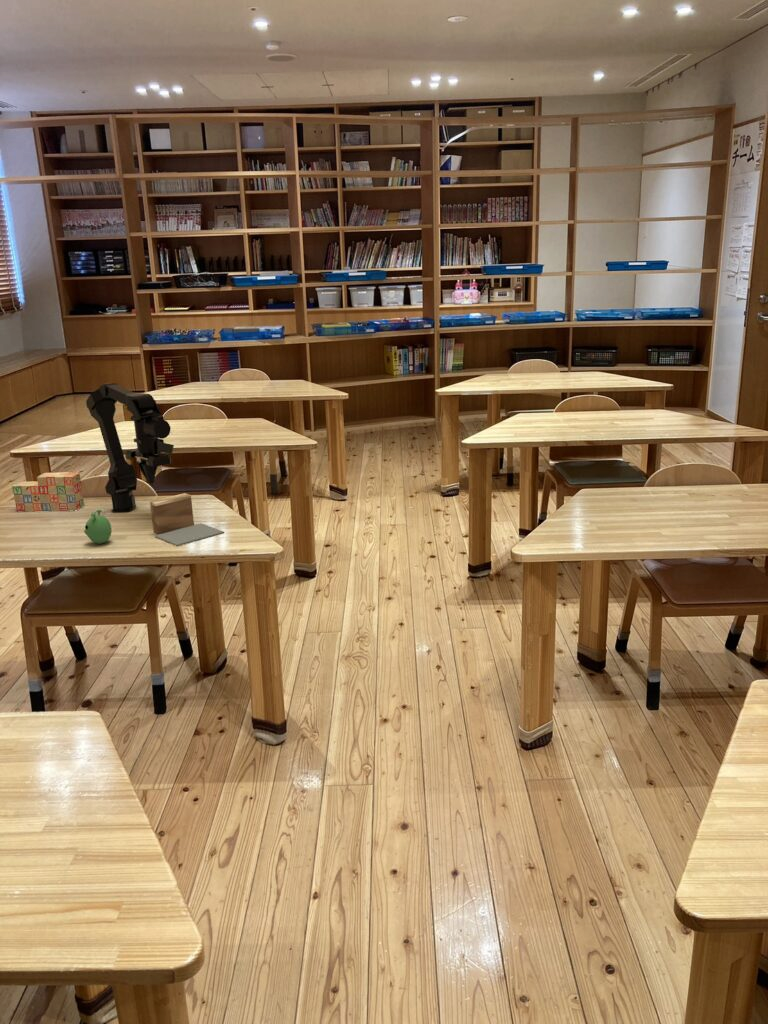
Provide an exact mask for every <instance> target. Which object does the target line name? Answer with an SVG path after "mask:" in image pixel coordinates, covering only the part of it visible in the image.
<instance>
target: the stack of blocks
mask: <svg viewBox="0 0 768 1024" xmlns="http://www.w3.org/2000/svg"><path fill="white" fill-rule="evenodd" d="M36 479H37V481H20V482H18V483H16V484H15V485H12V487H11V488H12V493H13V497H14V502H15V503H14V504H15V507H16V512H17V511H49V512H71V511H70V510H73V511H72V512H76V511H75V510H78V509H79V510H80V508H81V507H82V506H84V507H85V503H84V495H83V494H84V493H83V485H82V480H81V473H80V472H71V471H65V472H64V471H62V472H61V471H60V472H44V473H42V474H40V475H38V476H37V477H36ZM82 508H83V507H82ZM82 508H81V509H82ZM67 510H68V511H67ZM79 510H78V511H79Z"/></svg>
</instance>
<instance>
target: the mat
mask: <svg viewBox="0 0 768 1024" xmlns="http://www.w3.org/2000/svg"><path fill="white" fill-rule="evenodd" d="M222 533H223V534H225V531H224V530H220V529H219V528H216V527H214V526H213V527H212V526H209V525H207V524H205V523H202V522H201V523H197V524H194V525H193V526H189V527H185V528H181V529H178V530H174V531H170V532H166V533H163V534H159V535H158V534H156V535H154V538H156V539H158V540H160V539H161V540H160V541H163V542H165V541H166V542H165V543H168V544H170V543H171V544H170V545H172V544H174V545H173V546H175V545H176V546H175V547H180V546H183V545H182V544H184V545H187V544H191V543H193V541H195V542H197V541H201V539H202V540H205V539H208V537H209V538H212V537H215V535H216V536H219V535H223V534H222ZM218 534H219V535H218ZM190 542H191V543H190ZM186 543H187V544H186ZM179 545H180V546H179Z"/></svg>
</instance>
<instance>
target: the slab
mask: <svg viewBox="0 0 768 1024" xmlns="http://www.w3.org/2000/svg"><path fill="white" fill-rule="evenodd" d="M149 506H150V513H151V522H152V529H153V533H154V534H155V533H156V535H159V534H163V533H166V532H170V531H174V530H178V529H181V528H185V527H189V526H193V525H195V522H194V521H195V520H194V512H193V502H192V495H191V494H189V493H185V492H184V493H180V494H175V495H173V496H168V497H164V498H159V499H155V500H152V501H149Z"/></svg>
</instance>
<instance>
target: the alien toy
mask: <svg viewBox="0 0 768 1024" xmlns="http://www.w3.org/2000/svg"><path fill="white" fill-rule="evenodd" d="M102 512H103V510H102V509H97V510H96V511H95V512H92V513H91V514H90V516H91V517H90V518H88V520H87V522H86V523H85V526H84V530H83V532H84V534H85V535H86V536H87V538H88V539H89V540H90V541H91V542H93V544H98V545H99V544H100V545H101V544H104V543H106V542H108V541H109V539H110V538H111V536H112V524H111V522H110V521H109V519H108V518H107V517H106V516H104V515H101V513H102ZM97 513H98V514H97Z"/></svg>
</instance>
